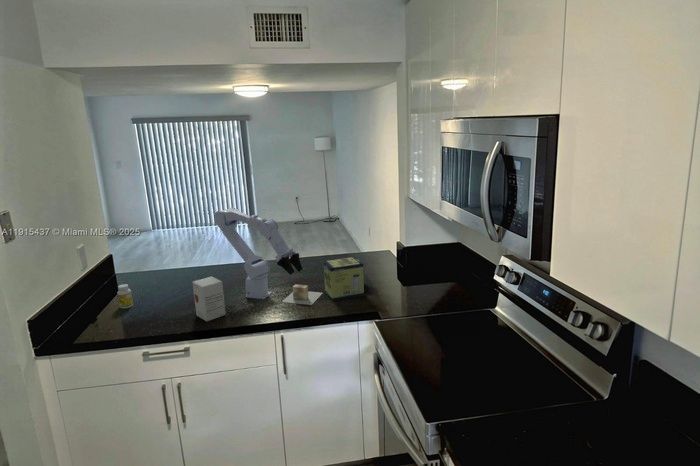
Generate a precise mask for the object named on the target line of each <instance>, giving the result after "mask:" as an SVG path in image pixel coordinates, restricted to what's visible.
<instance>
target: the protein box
mask: <svg viewBox="0 0 700 466" xmlns="http://www.w3.org/2000/svg"><path fill="white" fill-rule="evenodd" d="M359 260H360V259H358V258H357V257H355V256H353V257H352V256H351V257H345V258H338V259H333V260H332V259H331V260H323V273H324V275H323V276H324V293H325V294H326V295H327V297H328V298H329V299H330V300H331V301H339V300H345V299H346V300H347V299H348V298H349V299H354V298H359V297H364V296H365V281H364V280H365V275H364V271H365V270H364V262H362V261H361V260H360V261H359ZM353 297H354V298H353Z"/></svg>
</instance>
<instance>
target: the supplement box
mask: <svg viewBox="0 0 700 466" xmlns="http://www.w3.org/2000/svg"><path fill="white" fill-rule="evenodd" d="M192 289H193V290H192V291H193V298H194V306H195V312H196V314H195V315H196V316H197V317H198V318H200V319H201V320H204V321H205V322H210V321H212V320H214V319H217V318H221V317H223V316H226V306H225V294H224V283H223V281H222V280H220V279H218V278H216V277H214V276H208V277H205V278H202V279H201V278H200V279H196V280H193V281H192Z"/></svg>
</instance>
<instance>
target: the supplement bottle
mask: <svg viewBox="0 0 700 466" xmlns="http://www.w3.org/2000/svg"><path fill="white" fill-rule="evenodd" d="M117 290H118V291H117V292H116V293H117V299H118V305H119V308H120V309H129V308H131V307H133V306H134V301H133V296H132V290H131V289H130V288H129V284H127V283H126V284H125V283H124V284H120V285H117Z"/></svg>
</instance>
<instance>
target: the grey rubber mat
mask: <svg viewBox="0 0 700 466" xmlns="http://www.w3.org/2000/svg"><path fill="white" fill-rule="evenodd" d="M322 294H323V292H319V291H317V292H316V291H309V290H308V297H309V298H308V299H307V300H306V301H302V300H293V291H292V292H291V293H290V294H288V296H287V297H285V298H284V299H283V300H281V303H288V304H289V303H290V304H297V305H309V306H312V305H313V304H314V303H315V302H316V301H317V299H319V298H320V297H321V296H322Z"/></svg>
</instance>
